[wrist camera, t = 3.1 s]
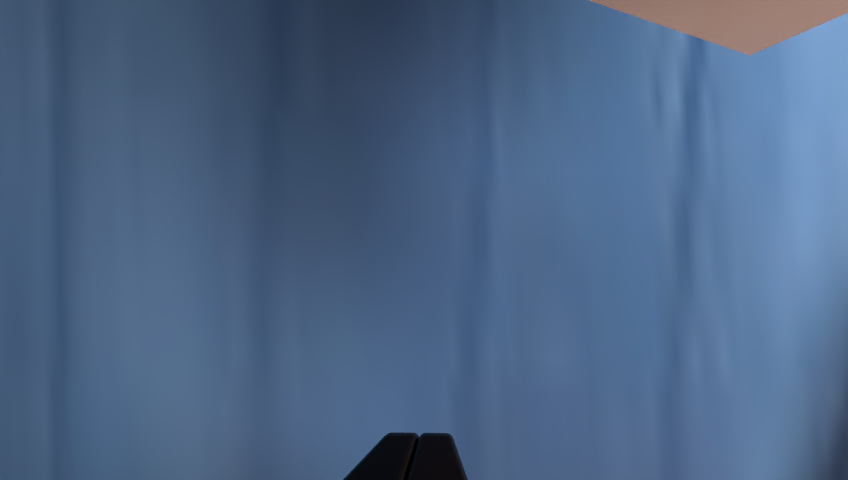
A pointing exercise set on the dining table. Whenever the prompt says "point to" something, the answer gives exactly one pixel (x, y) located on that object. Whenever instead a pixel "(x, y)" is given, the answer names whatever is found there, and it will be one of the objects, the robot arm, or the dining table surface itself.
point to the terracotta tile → (735, 18)
